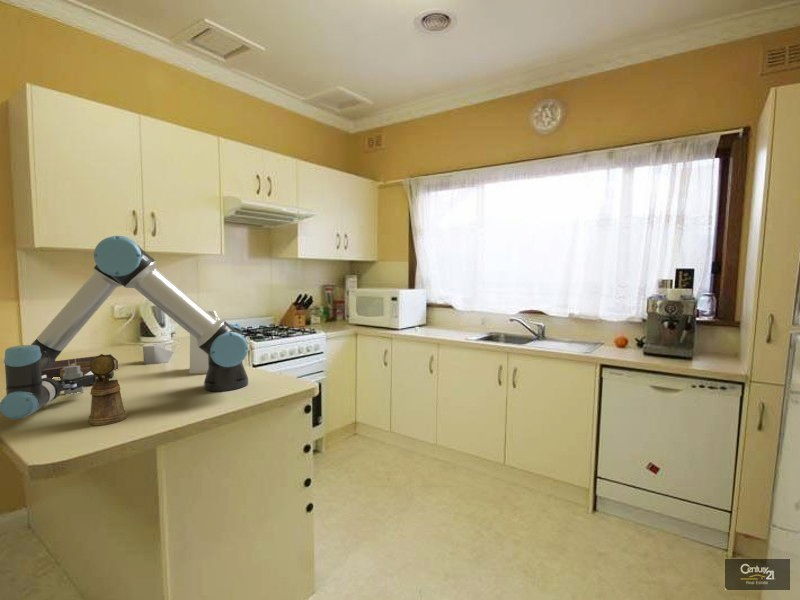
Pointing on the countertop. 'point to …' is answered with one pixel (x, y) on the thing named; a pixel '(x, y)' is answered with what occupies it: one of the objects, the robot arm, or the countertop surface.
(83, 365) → the cart
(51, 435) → the countertop surface
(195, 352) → the milk
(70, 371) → the power adapter
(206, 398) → the countertop surface
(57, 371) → the brown wooden tray
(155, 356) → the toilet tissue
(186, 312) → the robot arm
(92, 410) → the brown bell-shaped piece
